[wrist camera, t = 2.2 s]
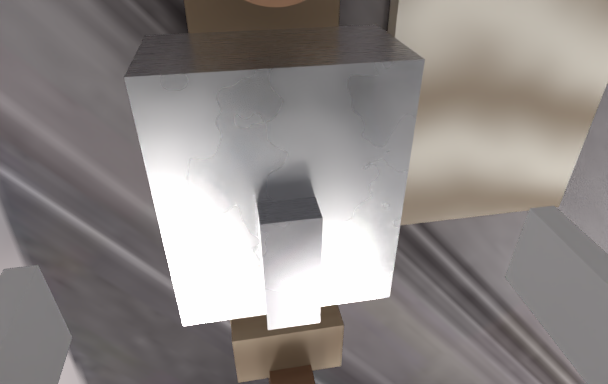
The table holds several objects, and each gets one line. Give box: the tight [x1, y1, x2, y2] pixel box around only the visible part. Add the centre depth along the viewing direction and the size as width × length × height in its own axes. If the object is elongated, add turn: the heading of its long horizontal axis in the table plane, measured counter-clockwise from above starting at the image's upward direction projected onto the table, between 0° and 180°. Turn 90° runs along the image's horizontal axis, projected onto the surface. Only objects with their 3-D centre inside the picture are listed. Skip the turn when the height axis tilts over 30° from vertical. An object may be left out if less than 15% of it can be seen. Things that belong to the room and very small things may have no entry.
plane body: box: [184, 0, 344, 384], centre depth 18 cm, size 23×6×10 cm, turn 0°
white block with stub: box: [124, 25, 425, 330], centre depth 16 cm, size 10×8×6 cm
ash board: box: [387, 0, 608, 225], centre depth 23 cm, size 14×12×1 cm
